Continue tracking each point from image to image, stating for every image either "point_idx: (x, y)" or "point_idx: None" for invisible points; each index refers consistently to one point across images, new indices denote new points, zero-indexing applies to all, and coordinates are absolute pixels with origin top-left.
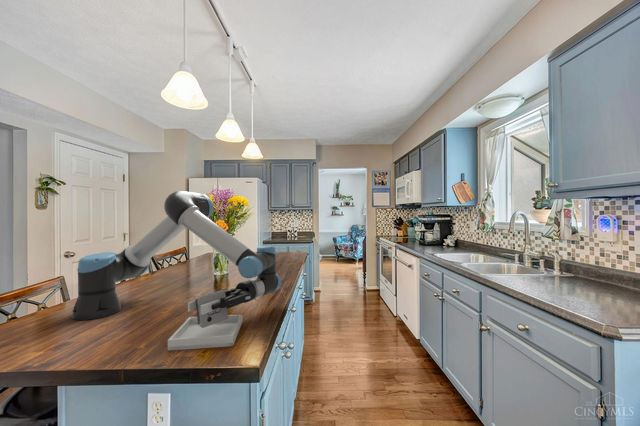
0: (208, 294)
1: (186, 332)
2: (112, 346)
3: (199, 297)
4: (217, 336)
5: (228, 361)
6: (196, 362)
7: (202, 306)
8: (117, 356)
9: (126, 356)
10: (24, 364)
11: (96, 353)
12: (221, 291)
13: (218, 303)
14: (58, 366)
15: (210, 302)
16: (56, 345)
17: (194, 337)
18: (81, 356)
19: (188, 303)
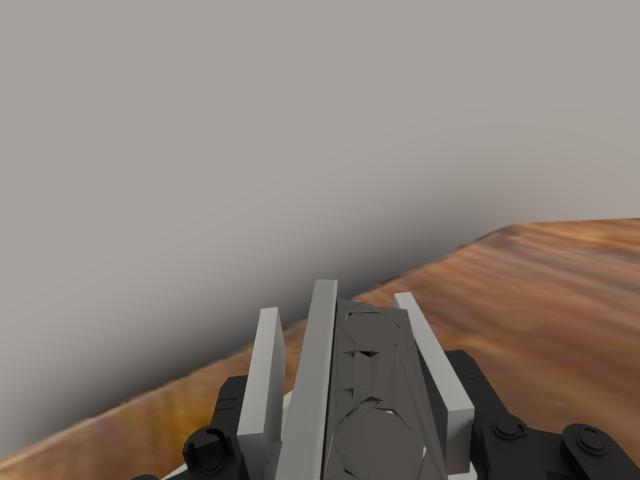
0: (328, 328)
1: (475, 471)
2: (537, 303)
3: (322, 280)
4: (181, 470)
5: (73, 457)
6: (198, 392)
7: (262, 315)
8: (442, 300)
9: (424, 310)
10: (530, 231)
11: (504, 282)
12: (293, 459)
13: (220, 419)
14: (475, 251)
15: (264, 358)
16: (633, 250)
17: (287, 401)
18: (506, 268)
19: (404, 297)
